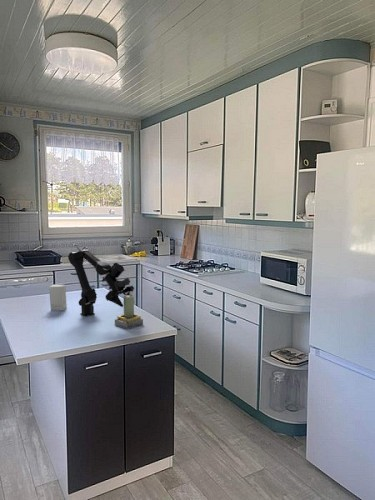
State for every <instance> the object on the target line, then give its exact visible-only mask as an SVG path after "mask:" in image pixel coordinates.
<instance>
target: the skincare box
mask: <svg viewBox="0 0 375 500" xmlns="http://www.w3.org/2000/svg"><path fill="white" fill-rule="evenodd" d="M48 287H49V288H48V290H49V291H48V292H49V303H50V311H51V312H53V311H54V312H55V311H59V312H61V311H63V312H64V310H67V308H68V307H67V293H66V292H67V291H66V284H52V285H50V286H48Z"/></svg>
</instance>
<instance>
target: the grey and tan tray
mask: <svg viewBox="0 0 375 500" xmlns="http://www.w3.org/2000/svg"><path fill="white" fill-rule="evenodd" d="M143 325H144V319H143V318H142V317H141V315H138V314H135V313H134V317H133V318H129V319H127V318H124V314H121V315H117V317H116V319H114V326H117V327H120V328H123V329H126V330H129V329H132V328H135V327H139V326H143Z"/></svg>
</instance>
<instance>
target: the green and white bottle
mask: <svg viewBox="0 0 375 500" xmlns="http://www.w3.org/2000/svg"><path fill="white" fill-rule="evenodd" d="M132 295H133V292H130V295H127V296H126V295H124V296H123V315H124V318H127V319H129V318H133V317H134V314H135V297H134V295H133V296H132Z"/></svg>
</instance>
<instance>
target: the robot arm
mask: <svg viewBox="0 0 375 500" xmlns="http://www.w3.org/2000/svg"><path fill="white" fill-rule="evenodd" d="M67 258H68V259H67V260H68V261H69V263H70V265H72V266H73V267H74V270H75V273H76V276H77V279H78V281H79V285H80V288H81V293H80V297H81V298H80V299H79V300H78V306H81V309H80V310H81V311H80V312H81V313H79V315H80V316H81V315H82V316H84V317H89V316H93V315H95V314H96V313H95V306H94V304H96V301H97V298H98V297H97V296H98V295H97V292H96V289H95V288H92V287H91V285H90V282H89V279H88V277H87V274H86V271H85V267H84V261H85V260H86V261H87V262H88V263H89V264H90V265H91V266H93V267H94V269H95V272H96V273H97V274H98V275H100V276H103V277H102V281H101V282H106V284H107V285H108V289H109V291H108V292H107V294H106V295H105V300H106V301H107V302H112V303H114V304H115V305H117V306H119V307H121V308H124V303H123V302H122V301H121V299H120V297H119V295H122V294H123V295H124V296H127V295H130V292H132V293H133V292H134V290H135V287H134V286H133V285H130V283H131V280H130V278H128V277H126V278H124V279H123V280H118V278H119V277H120V276H121V275H122V274H123V273H124V271H125V267H124V266H123V265H121V264H119V263H118V262H114V263H113V265H111V264H109V263H107V262H105V261H102V260H100V259H99V258H97V256H95V255H94V254H93V253H92V252H90V250H89V249H81V250H80V251H72V252H69V254H68V256H67ZM132 296H133V297H134V295H133V294H132Z"/></svg>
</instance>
